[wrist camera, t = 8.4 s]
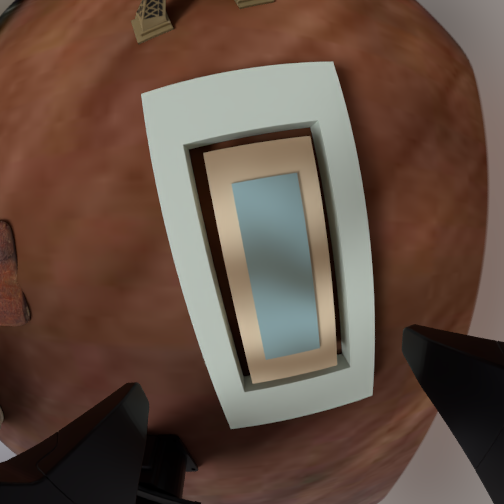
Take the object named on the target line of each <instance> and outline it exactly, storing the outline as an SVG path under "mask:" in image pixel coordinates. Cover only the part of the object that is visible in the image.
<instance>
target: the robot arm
mask: <svg viewBox="0 0 504 504" xmlns="http://www.w3.org/2000/svg"><path fill="white" fill-rule="evenodd" d="M402 352H403V355H404V357H405V358H406V360H407V362H408V364H409V365H410V367H411V369H412V371H413V373H414V375H415V377H416V378H417V380H418V382H419V384H420V385H421V387H422V388H423V390H424V391H425V393H426V394H427V396H428V397H429V399H430V400H431V401H432V403H433V404H434V406H435V407H436V409H437V410H438V412H439V413H440V415H441V416H442V418H443V419H444V421H445V422H446V424H447V425H448V427H449V428H450V430H451V432H452V433H453V435H454V436H455V438H456V439H457V441H458V443H459V444H460V446H461V447H462V449H463V451H464V452H465V454H466V455H467V457H468V459H469V460H470V462H471V464H472V465H473V467H474V469H476V473H477V474H478V476H479V478H480V479H481V481H482V483H483V485H484V486H485V488H486V490H487V492H488V494H489V496H490V497H491V499H492V501H493V503H494V504H504V342H500V341H495V340H489V339H484V338H478V337H474V336H469V335H463V334H458V333H453V332H449V331H444V330H439V329H434V328H429V327H425V326H420V325H416V324H414V325H411V326H408V327H405V328H404V330H403V339H402ZM148 413H149V402H148V399H147V397H146V395H145V393H144V391H143V389H142V387H141V386H140V384H139V383H137V382H134V383H126V384H125V385H124V386H122V387H121V388H119V389H118V390H117V391H115V392H114V393H112V394H111V395H110V396H108V397H107V398H105V399H104V400H103V401H101V402H100V403H98V404H97V405H95V406H94V407H93V408H91V409H90V410H88V411H87V412H85V413H84V414H83V415H81V416H80V417H78V418H77V419H75V420H74V421H72V422H71V423H70V424H68V425H67V426H65V427H64V428H62V429H61V430H59V432H56V433H55V434H53V435H52V436H50V437H49V438H47V439H45V440H44V441H42V442H41V443H39V444H37V445H35V446H34V447H32V448H30V449H28V450H26V451H25V452H23V453H21V454H19V455H17V456H15V457H13V458H11V459H9V460H7V461H5V462H1V463H0V504H201V502H196V501H195V502H193V501H189V500H185V499H182V494H183V487H184V479H185V472H191V471H198V466H197V464H196V463H195V461H194V460H193V458H192V457H191V455H190V454H189V452H188V450H187V449H186V447H185V446H184V444H183V442H182V441H181V439H180V438H179V437H178V436H176V435H158V436H152V435H147V425H148Z"/></svg>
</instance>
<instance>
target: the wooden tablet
mask: <svg viewBox="0 0 504 504" xmlns="http://www.w3.org/2000/svg"><path fill="white" fill-rule="evenodd" d="M16 278H17V256H16V250H15V244H14V239H13V234H12V230H11V228H10V226H9V225H8V223H6V222H3V221H0V325H3V326H19V325H24V324H26V323H27V322H28V321H29V320H30V312H29V309H28V305H27V303H26V300H25V297H24V294H23V292H22V290H21V288H20V286H19V285H18V283H17V281H16Z"/></svg>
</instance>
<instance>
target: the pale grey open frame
mask: <svg viewBox="0 0 504 504" xmlns="http://www.w3.org/2000/svg"><path fill="white" fill-rule="evenodd" d="M141 97H142V104H143V111H144V118H145V125H146V131H147V137H148V143H149V149H150V155H151V160H152V166H153V171H154V176H155V181H156V186H157V191H158V196H159V200H160V205H161V209H162V214H163V218H164V222H165V227H166V231H167V235H168V239H169V243H170V247H171V251H172V255H173V259H174V262H175V266H176V270H177V273H178V277H179V281H180V284H181V288H182V291H183V295H184V298H185V301H186V305H187V308H188V311H189V315H190V318H191V321H192V324H193V327H194V330H195V333H196V337H197V340H198V343H199V346H200V349H201V351H202V354H203V357H204V360H205V363H206V366H207V369H208V372H209V374H210V377H211V380H212V382H213V385H214V388H215V391H216V393H217V396H218V398H219V401H220V404H221V406H222V409H223V411H224V414H225V416H226V419H227V421H228V424H229V426H230V428H231V429H236V428H243V427H250V426H256V425H262V424H268V423H273V422H278V421H283V420H288V419H293V418H297V417H301V416H305V415H309V414H313V413H317V412H321V411H325V410H328V409H332V408H335V407H339V406H342V405H345V404H348V403H352V402H355V401H358V400H361V399H364V398H366V397H369V396H372V395H373V379H374V354H375V311H374V285H373V269H372V256H371V245H370V235H369V227H368V218H367V211H366V204H365V197H364V190H363V184H362V178H361V172H360V167H359V162H358V157H357V152H356V147H355V142H354V137H353V133H352V129H351V124H350V120H349V116H348V112H347V108H346V104H345V101H344V97H343V93H342V90H341V86H340V83H339V79H338V76H337V73H336V70H335V67H334V63H333V62H307V63H292V64H280V65H270V66H262V67H254V68H248V69H241V70H235V71H229V72H224V73H219V74H214V75H209V76H205V77H200V78H196V79H192V80H188V81H184V82H180V83H176V84H173V85H169V86H165V87H162V88H159V89H155V90H152V91H149V92H146V93H143V94H141ZM309 127H310V128H311V132H312V137H313V141H314V146H315V151H316V155H317V160H318V165H319V170H320V176H321V181H322V186H323V192H324V198H325V203H326V210H327V216H328V222H329V229H330V236H331V243H332V250H333V258H334V266H335V275H336V284H337V293H338V304H339V315H340V328H341V344H342V354H339V355H337V365H336V366H333V367H329V368H325V369H321V370H317V371H313V372H309V373H305V374H300V375H296V376H291V377H287V378H282V379H277V380H272V381H266V382H261V383H255V384H253V383H252V379H251V375H249V376H243V373H242V369H241V366H240V362H239V359H238V355H237V351H236V348H235V344H234V341H233V337H232V333H231V330H230V326H229V322H228V318H227V315H226V311H225V307H224V303H223V299H222V295H221V291H220V287H219V283H218V279H217V275H216V271H215V267H214V263H213V259H212V255H211V250H210V246H209V242H208V238H207V233H206V229H205V224H204V220H203V216H202V211H201V206H200V202H199V197H198V193H197V188H196V183H195V178H194V173H193V168H192V163H191V158H190V153H189V149H193V148H197V147H201V146H206V145H210V144H214V143H219V142H224V141H228V140H233V139H238V138H244V137H249V136H254V135H260V134H266V133H272V132H279V131H286V130H293V129H300V128H309Z"/></svg>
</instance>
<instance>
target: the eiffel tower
mask: <svg viewBox="0 0 504 504" xmlns="http://www.w3.org/2000/svg"><path fill="white" fill-rule="evenodd" d="M235 2H236V4H237V5H238V7H239V9H242V8H247V7H251V6H256V5H261V4H267V3H273V2H274V0H235ZM165 6H166V0H142V1H141V3H140V6H139V8H138V10H137V12H136V15H137V16H135V18H136V19H134V20H132V21H131V23H132V26H133V29H134V33H135V36H136V39H137V42H138V44H141V43H143V42H145V41H147V40H149V39H152V38H154V37H156V36H159V35H161V34H163V33H166V32H168V31H171V30H174V29H173V27H172V24H171V22H170V19H169V17H168V14H167V12H166V9H165Z"/></svg>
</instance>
